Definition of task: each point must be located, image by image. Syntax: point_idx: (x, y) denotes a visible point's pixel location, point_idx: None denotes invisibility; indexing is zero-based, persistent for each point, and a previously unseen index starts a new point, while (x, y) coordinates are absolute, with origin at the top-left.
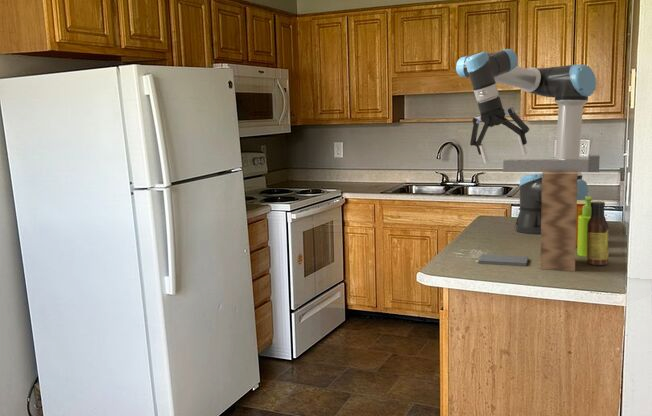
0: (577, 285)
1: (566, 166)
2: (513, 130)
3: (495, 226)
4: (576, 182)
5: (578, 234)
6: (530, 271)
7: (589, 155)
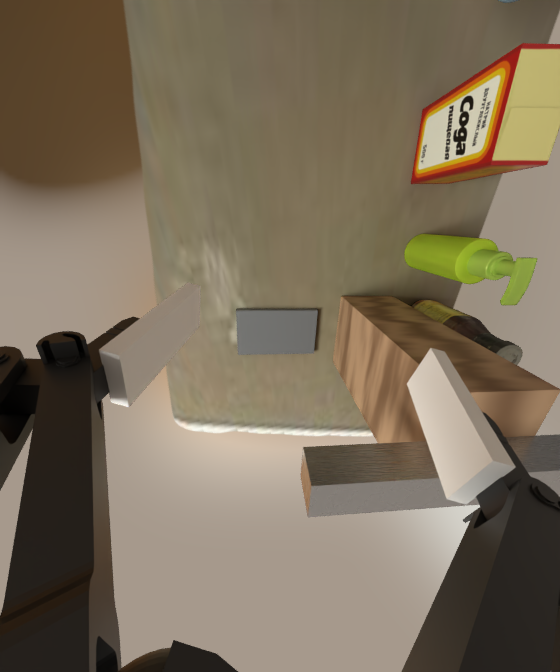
0: None
1: None
2: (454, 576)
3: None
4: None
5: (428, 263)
6: (318, 375)
7: None
